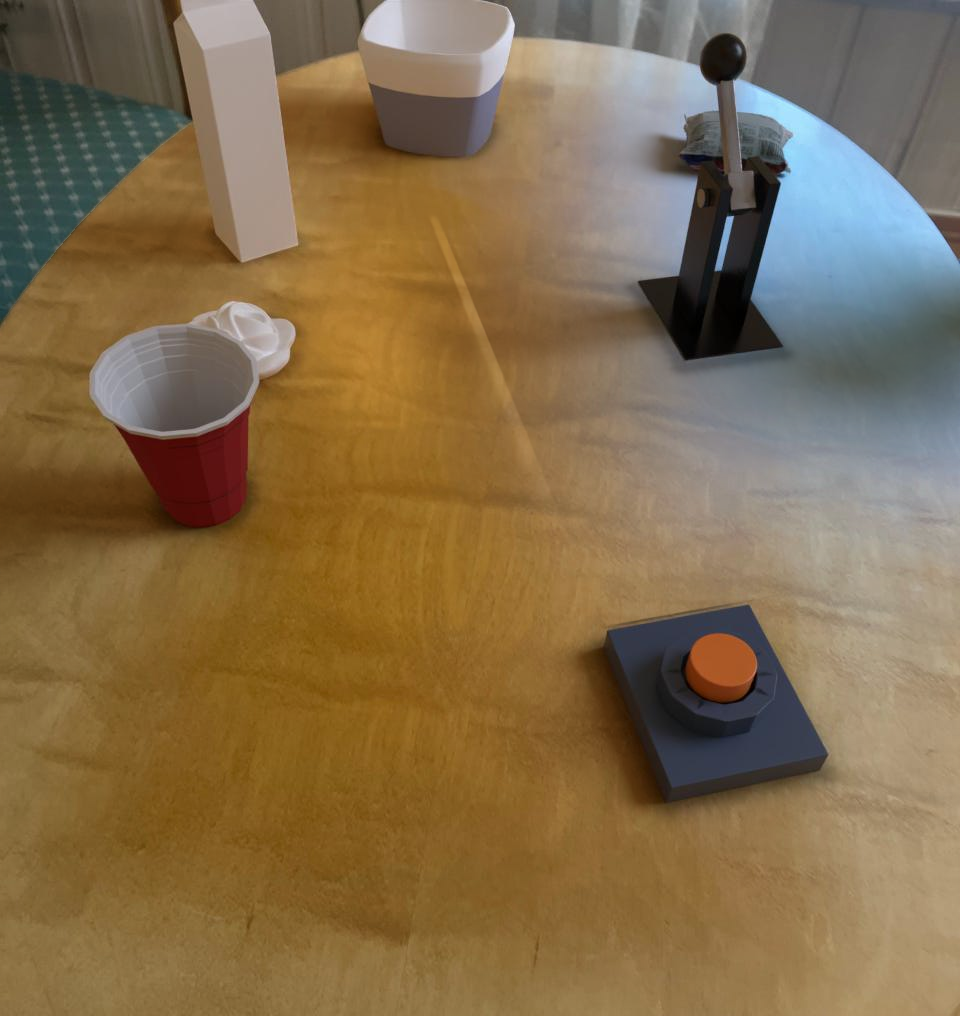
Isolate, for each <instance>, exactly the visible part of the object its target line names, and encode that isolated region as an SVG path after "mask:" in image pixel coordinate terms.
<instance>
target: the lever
mask: <svg viewBox="0 0 960 1016" xmlns="http://www.w3.org/2000/svg"><path fill="white" fill-rule="evenodd" d="M747 53H748V52H747V49H746V46H745V43H744V42H743V40H742V39H741V38H739V36H738V35H735V34H733V33H730V32H722V33H719V34H715V35H714V36H712V37H711V38H709V40H707V42H706V43H705V44H704V45H703V48H702V49H701V52H700V55H699V61H698V62H699V63H698V64H699V70H700V73H701V75H702V77H703V78H704V80H705V81H706V82H707V83H709V84H711V85H713V86H716V87H715V88H716V98H717V104H718V105H717V106H718V111H719V119H720V129H721V140H722V150H723V160H724V171H725V172H724V174H723V176H724V177H725V179H726V180H727V181H728V182H729V184H730V185H731V186H732V188H733V192H732V196H731V200H730V205H729V209H728V214H727V218H729V217H734V216H738V215H744V214H745V213H747V212H749V211H751V210H752V209H754V208H756V197H755V186H754V175H753V170H751V171H742V163H741V152H740V141H739V130H738V119H737V112H738V111H737V100H736V99H737V98H736V88H735V87H736V86H735V81H737V80H738V78H739V77H740V76H741V75H742V74H743V72H744V71H745V68H746V64H747V56H748V55H747Z"/></svg>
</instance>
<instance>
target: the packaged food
mask: <svg viewBox="0 0 960 1016" xmlns="http://www.w3.org/2000/svg"><path fill="white" fill-rule="evenodd" d="M683 117H684V121H685V123H684V125H683V131H684V133H685V135H686V145H687V146H686V147H685V148H684V149H682V150H680V151H679V152H678V153H677V157H678V156H679V157H680V159H681V160H682V161H684V162H686V164H687V165H688V166H689V167H691V168H692V169H693V170H698V171H699V170H700V164H701V162H708V161H712V162H713V163H714V164H715V166H716V167H717V168H718V169H719V171H720V172H721V173H723V172H724V173H725V171H724V160H723V150H722V140H721V129H720V119H719V110H708V111H703V112H698V113H696V114H694V115H690V116H686V112H684V113H683ZM737 119H738V130H739V141H740V152H741V163H742V171H744V170H745V166H746V162H747V158H748V157H755V156H759V157H760V158H761V160H762V161H763V162H764V163H765V164H766V166H767V167H768V168H769V169H770V170H771V172H772V173H773V174H774V175H775V176H777V175H779V174H782V173H784V172H785V173H787V174H791V173H792V170H791V167H790V166H789V163H788V161H787V159H786V158H785V154H784V147H785V145H787V143H788V141H789V140H791V139H792V138H793V137H794V132H793V131H791V130H789V129H787V128H786V127H785V126H784V125H783V124H782V123H781V124H780V123H779V122H778V121H777V120H776V119H775V118H773V117H771V116H768V115H764V114H759V113H751V112H743V111H737Z"/></svg>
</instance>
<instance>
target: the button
mask: <svg viewBox="0 0 960 1016" xmlns="http://www.w3.org/2000/svg"><path fill="white" fill-rule="evenodd" d="M756 670H757V660H756V656H755V654H754V652H753V651H752V649H751V648H750V647H749V646H748V645H747V644H746V643H745V642H744V641H742V640H740V639H739V638H737V637H734V636H731V635H728V634H720V633H718V634H710V635H706V636H704V637H702V638H700V639H699V640H697V641H696V642H695V643H694V645H693V646H692V648H691V651H690V655H689V658H688V661H687V664H686V668H685V675H686V679H687V682H688V684H689V685H690V687H691V688H692V689H693V690H694V691H695V692H696V693H697V694H698V695H700V696H701V697H703V698H705V699H707V700H710V701H714V702H721V703H726V702H732V701H735V700H738V699H739V698H741V697H743V696H744V695H745V694H746V693H747V691H748V690H749V688H750V686H751V683H752V681H753V678H754V676H755V673H756Z"/></svg>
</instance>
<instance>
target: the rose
mask: <svg viewBox="0 0 960 1016" xmlns="http://www.w3.org/2000/svg"><path fill="white" fill-rule="evenodd" d="M186 324H192V325H197V326H203V327H208V328H214V329H218V330H220V331H222V332H224V333H226V334H228V335H229V336H231V337H233V338H235V339H237V340H239V341H241V342H242V343H243V344H244V345H245V347H246V348H247V349H248V350H249V352H250V353H251V354H252V355H253V356H254V358H255V359H256V361H257V368H258V375H259V381H261V380H262V381H263V380H265V379H268V378H270V377H272V376H275V375H276V374H277V373H279V372H280V371H281V370H282V369H283V368H285V366H286V365H287V364H288V362H289V361H290V359H291V348H292V346H293V344H294V342H295V340H296V335H297V334H296V333H297V332H296V328H295V325H294V324H293V323H292V322H291V321H290V320H288V319H286V318H282V317H281V318H280V317H279V318H273V317H270V316H269V315H268V313H267V312H265V310H264V309H262V308H261V307H259V306H257V305H255V304H253V303H250V302H242V301H232V300H231V301H227V302H225V303H224V304H222V305H221V306H220V307H219V308H218V309H217V310H210V311H207V312H203V313H201V314H198V315H196V316H194V317H193V318H192V319H191V321H189V322H187V323H186Z"/></svg>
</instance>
